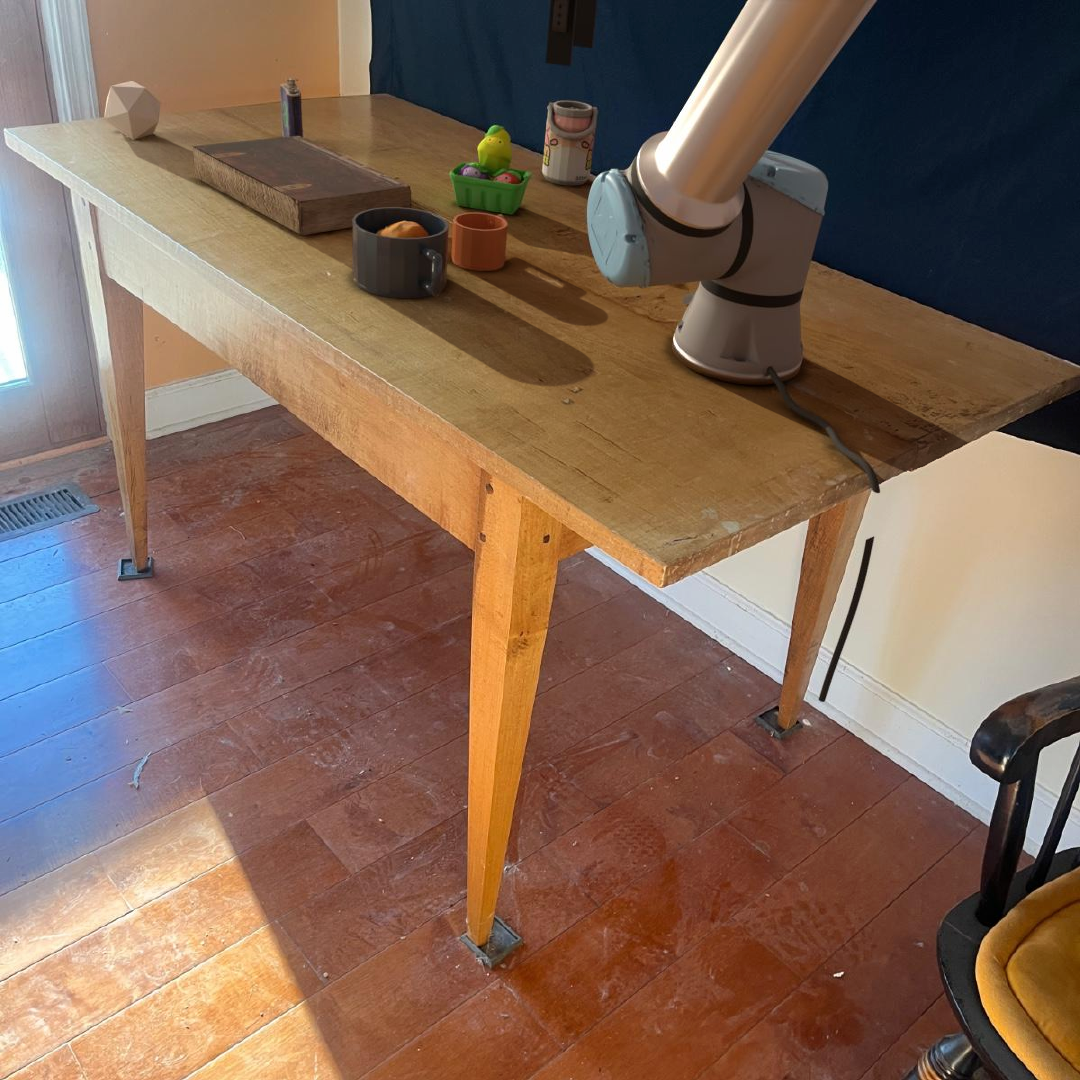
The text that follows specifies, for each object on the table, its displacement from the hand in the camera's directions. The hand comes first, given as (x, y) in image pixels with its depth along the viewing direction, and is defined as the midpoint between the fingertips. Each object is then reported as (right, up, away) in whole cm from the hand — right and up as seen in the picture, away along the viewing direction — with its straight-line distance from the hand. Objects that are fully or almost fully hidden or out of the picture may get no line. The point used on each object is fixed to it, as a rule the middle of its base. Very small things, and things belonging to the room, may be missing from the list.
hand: (570, 55), depth 118 cm
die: (-72, +12, +55) cm, 91 cm away
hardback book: (-39, -4, +37) cm, 54 cm away
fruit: (-21, -22, +14) cm, 34 cm away
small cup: (-11, -17, +23) cm, 31 cm away
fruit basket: (-11, -3, +43) cm, 44 cm away
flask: (-46, +12, +60) cm, 76 cm away
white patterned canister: (+1, +6, +58) cm, 58 cm away
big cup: (-20, -23, +13) cm, 34 cm away
